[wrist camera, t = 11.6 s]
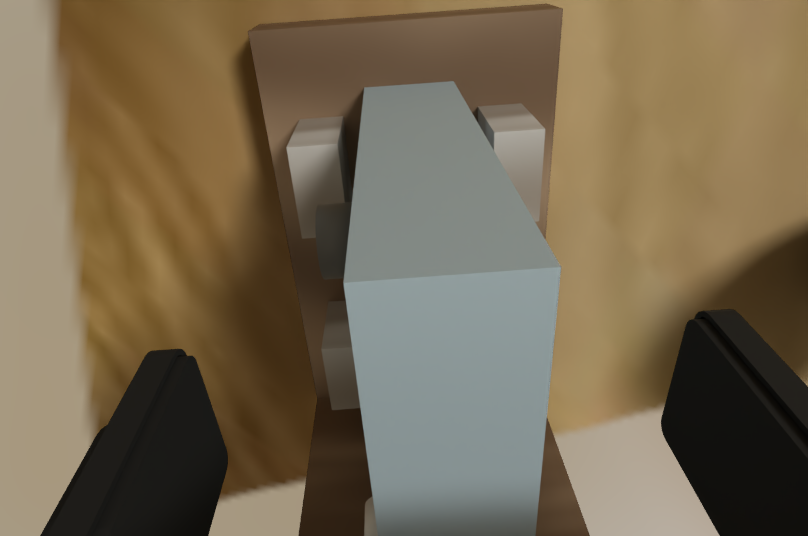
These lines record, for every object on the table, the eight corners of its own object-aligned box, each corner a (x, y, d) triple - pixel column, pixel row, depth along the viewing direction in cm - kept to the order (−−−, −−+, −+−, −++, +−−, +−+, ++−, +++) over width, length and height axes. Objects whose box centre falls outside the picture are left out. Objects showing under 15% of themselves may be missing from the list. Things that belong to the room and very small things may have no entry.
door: (334, 89, 15) (270, 288, 6) (453, 80, 15) (561, 267, 6) (369, 375, 20) (361, 708, 11) (458, 369, 20) (520, 695, 11)
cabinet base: (258, 24, 15) (-653, 579, 2) (547, 3, 15) (1807, 393, 2) (326, 400, 22) (245, 1085, 9) (523, 385, 22) (743, 1047, 9)
